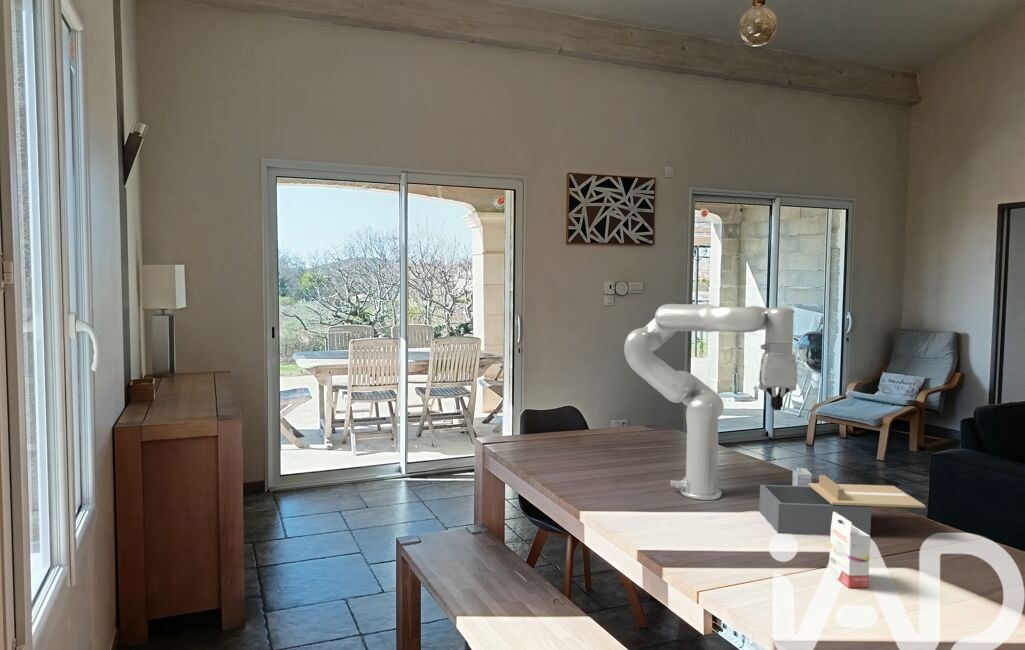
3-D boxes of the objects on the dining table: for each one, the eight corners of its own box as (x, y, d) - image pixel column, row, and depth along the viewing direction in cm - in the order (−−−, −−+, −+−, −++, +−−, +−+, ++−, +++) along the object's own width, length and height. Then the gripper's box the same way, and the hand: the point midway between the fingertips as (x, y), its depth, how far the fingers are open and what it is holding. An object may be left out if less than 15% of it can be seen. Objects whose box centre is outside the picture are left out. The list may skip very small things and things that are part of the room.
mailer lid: (831, 504, 188) (832, 491, 188) (808, 485, 206) (809, 472, 205) (925, 507, 186) (926, 494, 186) (893, 487, 204) (894, 475, 204)
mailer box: (777, 533, 189) (778, 503, 189) (759, 511, 207) (760, 484, 207) (870, 536, 188) (871, 507, 187) (843, 514, 206) (844, 487, 205)
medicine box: (811, 502, 217) (812, 474, 216) (796, 501, 218) (797, 473, 217) (806, 494, 224) (807, 468, 224) (791, 493, 225) (792, 467, 225)
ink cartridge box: (869, 588, 156) (872, 522, 155) (848, 588, 155) (851, 523, 155) (848, 572, 164) (850, 510, 163) (827, 572, 164) (830, 510, 163)
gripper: (756, 349, 208) (754, 411, 209) (808, 350, 207) (806, 412, 208) (749, 347, 215) (747, 406, 216) (800, 348, 214) (797, 408, 215)
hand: (776, 409), depth 212 cm, fingers closed
